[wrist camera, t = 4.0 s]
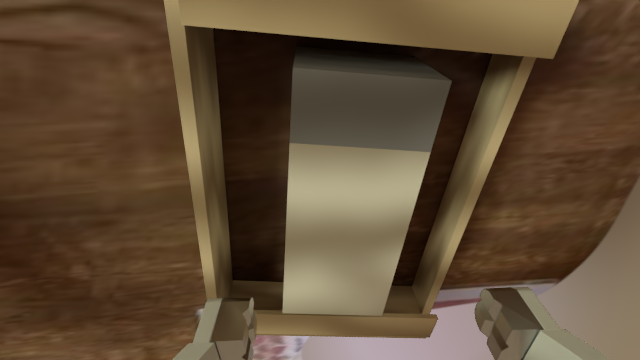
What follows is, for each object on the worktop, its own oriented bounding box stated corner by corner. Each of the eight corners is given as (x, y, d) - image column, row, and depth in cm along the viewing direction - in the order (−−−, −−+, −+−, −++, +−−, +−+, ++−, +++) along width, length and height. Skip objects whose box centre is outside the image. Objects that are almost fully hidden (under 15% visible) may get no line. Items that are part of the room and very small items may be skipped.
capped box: (368, 256, 23) (382, 315, 19) (286, 252, 23) (282, 313, 19) (413, 56, 16) (451, 80, 12) (296, 45, 16) (292, 67, 12)
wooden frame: (417, 291, 26) (435, 342, 22) (225, 285, 24) (210, 338, 21) (529, -17, 15) (604, -19, 11) (192, -54, 14) (150, -70, 10)
